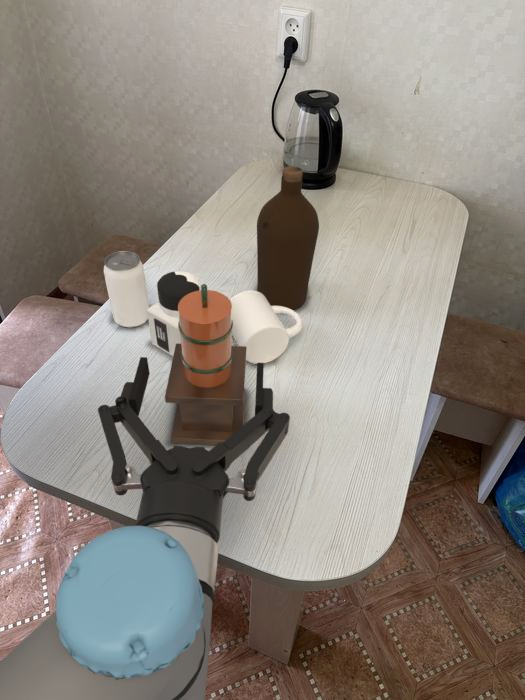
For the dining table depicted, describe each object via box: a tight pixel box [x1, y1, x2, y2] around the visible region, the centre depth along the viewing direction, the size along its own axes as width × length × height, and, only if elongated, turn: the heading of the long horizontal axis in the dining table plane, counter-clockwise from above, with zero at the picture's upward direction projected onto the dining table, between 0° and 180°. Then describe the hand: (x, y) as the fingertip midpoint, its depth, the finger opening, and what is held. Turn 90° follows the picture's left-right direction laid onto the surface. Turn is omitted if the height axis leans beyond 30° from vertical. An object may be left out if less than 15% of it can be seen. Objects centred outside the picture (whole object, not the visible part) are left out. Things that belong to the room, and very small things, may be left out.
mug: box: [229, 289, 304, 365], centre depth 84 cm, size 12×10×8 cm
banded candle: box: [178, 283, 233, 388], centre depth 63 cm, size 7×7×14 cm
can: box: [103, 250, 150, 329], centre depth 86 cm, size 6×6×12 cm
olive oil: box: [256, 165, 320, 311], centre depth 88 cm, size 11×11×25 cm
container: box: [147, 270, 201, 357], centre depth 82 cm, size 8×8×13 cm
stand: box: [164, 344, 247, 446], centre depth 71 cm, size 10×10×10 cm
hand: (202, 367), depth 60 cm, fingers open, 13 cm apart
